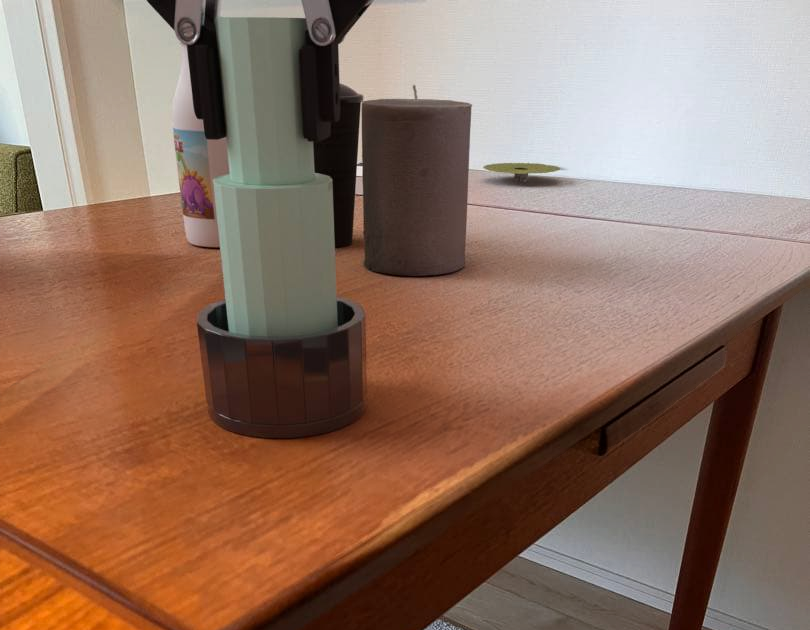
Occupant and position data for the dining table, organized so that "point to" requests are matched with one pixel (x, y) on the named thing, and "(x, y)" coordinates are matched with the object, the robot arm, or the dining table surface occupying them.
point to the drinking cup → (342, 163)
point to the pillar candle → (415, 185)
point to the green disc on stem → (521, 169)
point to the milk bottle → (196, 164)
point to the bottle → (271, 187)
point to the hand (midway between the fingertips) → (269, 133)
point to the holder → (284, 375)
